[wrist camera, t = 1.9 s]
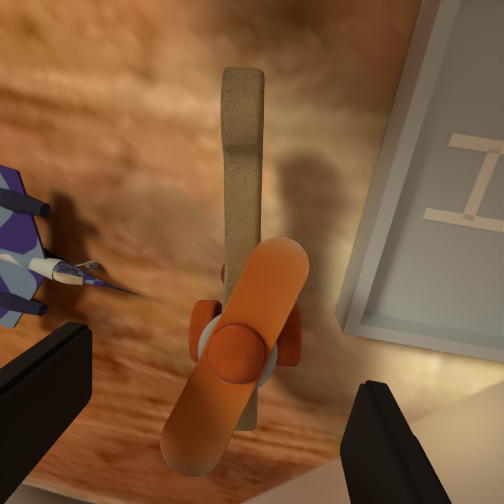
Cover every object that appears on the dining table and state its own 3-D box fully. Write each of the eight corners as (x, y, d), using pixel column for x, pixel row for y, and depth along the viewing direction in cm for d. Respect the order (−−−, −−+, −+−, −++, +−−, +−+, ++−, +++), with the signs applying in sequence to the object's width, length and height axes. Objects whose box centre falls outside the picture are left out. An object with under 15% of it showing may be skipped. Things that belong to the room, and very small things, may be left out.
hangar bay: (432, -38, 17) (464, -80, 14) (672, -4, 16) (756, -40, 14) (334, 313, 24) (342, 333, 21) (501, 343, 23) (532, 368, 21)
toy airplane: (157, 283, 25) (137, 302, 21) (37, 335, 27) (3, 359, 24) (72, 138, 22) (34, 133, 18) (-52, 213, 24) (-106, 220, 21)
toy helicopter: (204, 348, 26) (133, 531, 13) (193, 98, 20) (38, -35, 7) (294, 353, 25) (314, 550, 12) (309, 96, 19) (378, -52, 6)
